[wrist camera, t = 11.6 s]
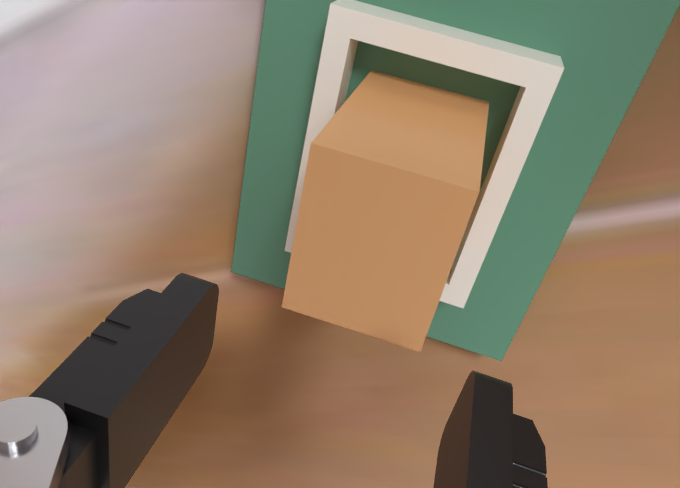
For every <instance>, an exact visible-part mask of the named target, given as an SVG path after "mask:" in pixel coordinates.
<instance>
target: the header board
mask: <svg viewBox="0 0 680 488" xmlns="http://www.w3.org/2000/svg"><path fill="white" fill-rule="evenodd" d="M679 6H680V0H266V2H265V10H264V18H263V26H262V34H261V42H260V50H259V58H258V66H257V73H256V81H255V89H254V97H253V105H252V113H251V121H250V129H249V137H248V144H247V152H246V160H245V168H244V176H243V184H242V192H241V200H240V207H239V215H238V223H237V231H236V239H235V247H234V255H233V263H232V271H231V272H233V273H236V274H239V275H242V276H245V277H248V278H251V279H254V280H257V281H260V282H264V283H267V284H270V285H273V286H276V287H279V288H282V289H285V285H286V280H287V274H288V269H289V263H290V257H291V252H292V246H293V241H294V235H295V229H296V224H297V218H298V213H299V207H300V201H301V196H302V190H303V185H304V179H305V173H306V168H307V162H308V157H309V151H310V145H311V142H312V141H313V140H314V139H315V138H316V136H317V135H318V134H319V133H320V132H321V130H322V129H323V128H324V127H325V125H326V124H327V123H328V122H329V121H330V119H331V118H332V117H333V116H334V115H335V113H336V112H337V111H338V110H339V109H340V107H341V106H342V105H343V104H344V103H345V101H346V100H347V99H348V98H349V97H350V95H351V94H352V93H353V92H354V91H355V89H356V88H357V87H358V86H359V85H360V83H361V82H362V81H363V80H364V79H365V77H366V76H367V75H368V74H369V73H370V71H371V70H374V71H377V72H381V73H385V74H388V75H392V76H396V77H399V78H403V79H407V80H410V81H414V82H418V83H421V84H425V85H429V86H433V87H436V88H440V89H444V90H447V91H451V92H455V93H458V94H462V95H466V96H469V97H473V98H477V99H480V100H484V101H488V102H489V109H488V118H487V127H486V137H485V146H484V155H483V165H482V174H481V183H480V192H479V195H478V197H477V200H476V203H475V206H474V208H473V211H472V214H471V216H470V219H469V222H468V224H467V227H466V230H465V233H464V235H463V238H462V241H461V243H460V246H459V249H458V252H457V254H456V257H455V260H454V262H453V265H452V268H451V270H450V273H449V276H448V279H447V281H446V284H445V287H444V289H443V292H442V295H441V298H440V300H439V303H438V306H437V308H436V311H435V314H434V316H433V319H432V322H431V325H430V327H429V330H428V333H427V335H426V336H427V337H430V338H433V339H436V340H439V341H442V342H445V343H448V344H451V345H454V346H457V347H460V348H463V349H466V350H469V351H472V352H475V353H478V354H481V355H484V356H487V357H490V358H493V359H496V360H499V361H502V359H503V357H504V355H505V353H506V351H507V349H508V347H509V345H510V343H511V341H512V339H513V337H514V335H515V333H516V331H517V329H518V327H519V325H520V323H521V321H522V319H523V317H524V315H525V313H526V311H527V309H528V307H529V305H530V303H531V301H532V299H533V297H534V295H535V293H536V291H537V289H538V287H539V285H540V283H541V281H542V279H543V277H544V275H545V273H546V271H547V269H548V267H549V265H550V263H551V261H552V259H553V257H554V255H555V253H556V251H557V249H558V247H559V245H560V243H561V241H562V239H563V237H564V235H565V233H566V231H567V229H568V227H569V225H570V223H571V221H572V219H573V217H574V215H575V213H576V211H577V209H578V207H579V205H580V203H581V201H582V199H583V197H584V195H585V193H586V191H587V189H588V187H589V185H590V183H591V181H592V179H593V177H594V175H595V173H596V171H597V169H598V167H599V165H600V163H601V161H602V159H603V157H604V155H605V153H606V151H607V149H608V147H609V145H610V143H611V141H612V139H613V137H614V135H615V133H616V131H617V129H618V127H619V125H620V123H621V121H622V119H623V117H624V115H625V113H626V111H627V109H628V107H629V105H630V103H631V101H632V99H633V97H634V95H635V93H636V91H637V89H638V87H639V85H640V83H641V81H642V79H643V77H644V75H645V73H646V71H647V69H648V67H649V65H650V63H651V61H652V59H653V57H654V55H655V53H656V51H657V49H658V47H659V45H660V43H661V41H662V39H663V37H664V35H665V33H666V31H667V29H668V27H669V25H670V23H671V21H672V19H673V17H674V15H675V14H676V12H677V10H678V8H679Z"/></svg>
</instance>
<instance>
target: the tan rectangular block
mask: <svg viewBox="0 0 680 488" xmlns="http://www.w3.org/2000/svg"><path fill="white" fill-rule="evenodd" d="M488 109H489V102H488V101H484V100H480V99H477V98H473V97H469V96H466V95H462V94H458V93H455V92H451V91H447V90H444V89H440V88H436V87H433V86H429V85H425V84H421V83H418V82H414V81H410V80H407V79H403V78H399V77H396V76H392V75H388V74H385V73H381V72H377V71H374V70H371V71H370V73H369V74H368V75H367V76H366V77H365V79H364V80H363V81H362V82H361V83H360V85H359V86H358V87H357V88H356V89H355V91H354V92H353V93H352V94H351V95H350V97H349V98H348V99H347V100H346V101H345V103H344V104H343V105H342V106H341V107H340V109H339V110H338V111H337V112H336V113H335V115H334V116H333V117H332V118H331V119H330V121H329V122H328V123H327V124H326V125H325V127H324V128H323V129H322V130H321V132H320V133H319V134H318V135H317V136H316V138H315V139H314V140H313V141H312V142H311V145H310V151H309V157H308V162H307V168H306V173H305V179H304V185H303V190H302V196H301V201H300V207H299V213H298V218H297V224H296V229H295V235H294V241H293V246H292V252H291V257H290V263H289V269H288V274H287V280H286V285H285V291H284V297H283V302H282V308H286V309H289V310H292V311H295V312H298V313H301V314H304V315H307V316H310V317H313V318H316V319H320V320H323V321H326V322H329V323H332V324H335V325H338V326H341V327H344V328H347V329H350V330H354V331H357V332H360V333H363V334H366V335H369V336H372V337H375V338H378V339H381V340H384V341H388V342H391V343H394V344H397V345H400V346H403V347H406V348H409V349H412V350H415V351H418V352H421V349H422V346H423V344H424V341H425V338H426V335H427V333H428V330H429V327H430V325H431V322H432V319H433V316H434V314H435V311H436V308H437V306H438V303H439V300H440V298H441V295H442V292H443V289H444V287H445V284H446V281H447V279H448V276H449V273H450V270H451V268H452V265H453V262H454V260H455V257H456V254H457V252H458V249H459V246H460V243H461V241H462V238H463V235H464V233H465V230H466V227H467V224H468V222H469V219H470V216H471V214H472V211H473V208H474V206H475V203H476V200H477V197H478V195H479V192H480V183H481V174H482V165H483V155H484V146H485V137H486V127H487V118H488Z"/></svg>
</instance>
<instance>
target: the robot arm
mask: <svg viewBox="0 0 680 488" xmlns="http://www.w3.org/2000/svg"><path fill="white" fill-rule="evenodd" d="M218 294H219V288H218V285H217V284H214V283H211V282H208V281H205V280H202V279H199V278H196V277H193V276H190V275H187V274H184V273H180V274H179V275H177V276H176V277H175V278H174V280H173V281H172V282H171V283H170V284H169V285H168V286H167V287H166V289H165V290H164V291H163V292H162V293H158V292H155V291H152V290H149V289H146V290H144V291H142V292H140V293H138V294H136V295H134V296H132V297H130V298H128V299H125V300H123V301H122V302H121V303H120V304H119V305H118V306H117V307H116V308H115V309H114V310H113V311H112V312H111V313H110V315H109V316H108V317H107V318H106V320H105V322H102V323H101V324H100V325H99V326H98V327H97V328H96V329H95V330H94V331H93V332H92V334H91V336H90V337H87V338H86V339H85V340H84V341H83V342H82V343H81V344H80V345H79V346H78V347H77V348H76V349H75V350H74V351H73V352H72V354H71V355H70V356H69V357H68V358H67V359H66V360H65V361H64V362H63V363H62V364H61V365H60V366H59V367H58V368H57V369H56V370H55V371H54V372H53V373H52V374H51V375H50V376H49V377H48V378H47V379H46V380H45V381H44V382H43V383H42V384H41V385H40V386H39V387H38V388H37V389H36V390H35V391H34V392H33V393H32V394H31V395H30V396H29V397H19V398H13V399H9V400H5V401H2V402H0V488H125V486H126V485H127V483H128V482H129V480H130V479H131V477H132V476H133V474H134V473H135V471H136V469H137V468H138V466H139V465H140V463H141V462H142V460H143V459H144V457H145V456H146V454H147V453H148V451H149V450H150V448H151V447H152V445H153V444H154V442H155V441H156V439H157V438H158V436H159V435H160V433H161V432H162V430H163V429H164V427H165V426H166V424H167V423H168V421H169V420H170V418H171V417H172V415H173V413H174V412H175V410H176V409H177V407H178V406H179V404H180V403H181V401H182V400H183V398H184V397H185V395H186V394H187V392H188V391H189V389H190V388H191V386H192V385H193V383H194V382H195V380H196V379H197V377H198V376H199V374H200V373H201V371H202V369H203V368H204V366H205V364H206V362H207V359H208V357H209V354H210V351H211V348H212V344H213V338H214V329H215V320H216V312H217V303H218ZM546 473H547V471H546V455H545V446H544V443H543V441H542V439H541V437H540V435H539V433H538V431H537V429H536V427H535V425H534V423H533V421H532V420H530V419H527V418H524V417H521V416H518V415H515V414H513V388H512V384H511V383H508V382H505V381H502V380H499V379H496V378H493V377H490V376H487V375H484V374H481V373H478V372H475V371H472V372H471V373H470V374H469V376H468V378H467V380H466V382H465V385H464V387H463V389H462V391H461V393H460V395H459V397H458V400H457V402H456V404H455V406H454V408H453V410H452V413H451V415H450V417H449V419H448V421H447V423H446V426H445V429H444V432H443V435H442V438H441V442H440V447H439V451H438V458H437V465H436V473H435V481H434V488H548V487H547V478H546Z"/></svg>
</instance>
